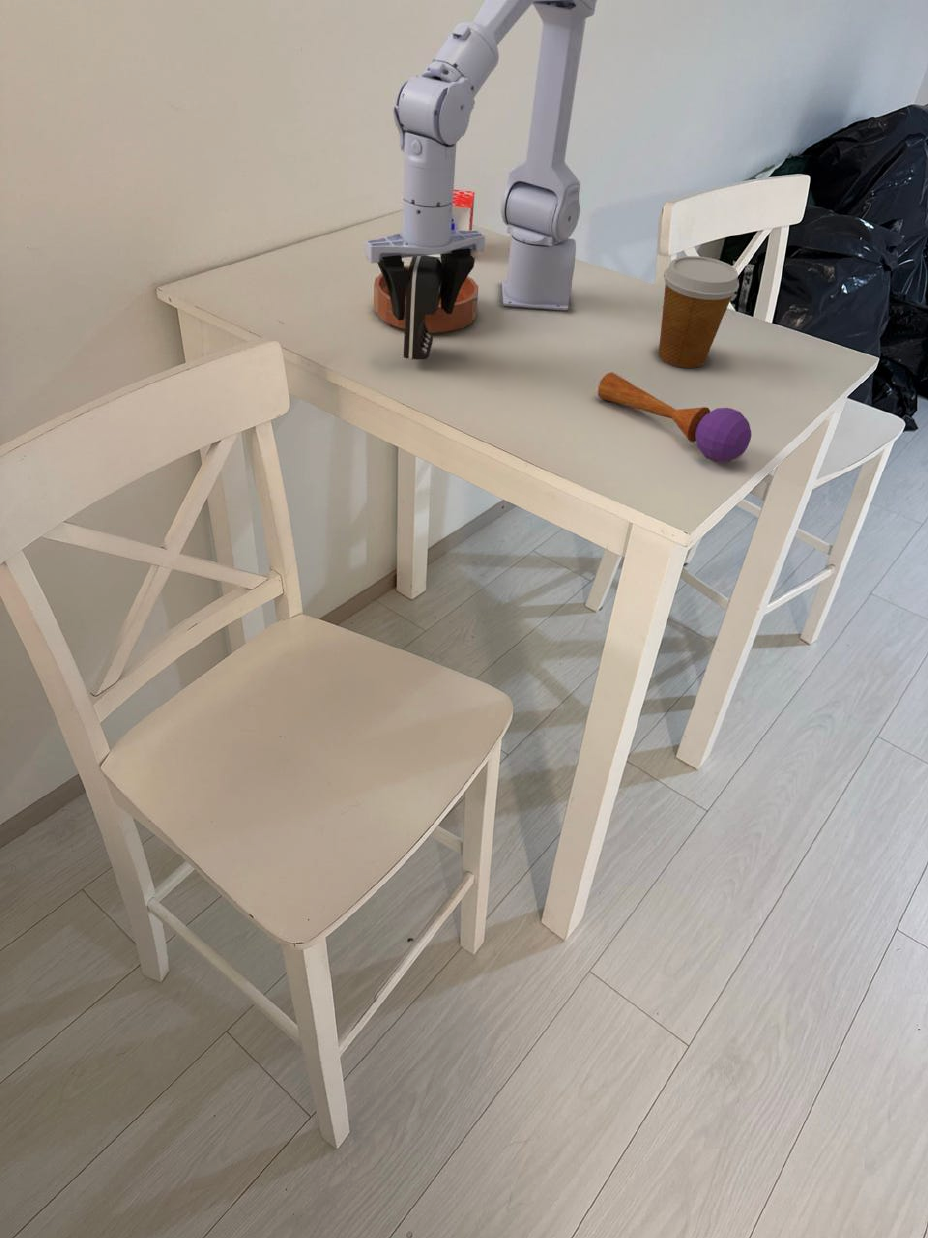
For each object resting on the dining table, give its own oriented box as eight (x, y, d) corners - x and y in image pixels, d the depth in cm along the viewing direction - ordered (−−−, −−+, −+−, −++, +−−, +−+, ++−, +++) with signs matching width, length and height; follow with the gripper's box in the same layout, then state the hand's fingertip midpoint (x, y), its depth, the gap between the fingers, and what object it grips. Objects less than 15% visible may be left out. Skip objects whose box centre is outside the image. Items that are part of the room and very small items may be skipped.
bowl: (475, 296, 133) (478, 269, 130) (475, 339, 122) (478, 310, 119) (378, 289, 132) (378, 261, 129) (370, 331, 121) (370, 302, 119)
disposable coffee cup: (673, 335, 127) (694, 249, 119) (730, 361, 123) (756, 272, 115) (632, 353, 122) (651, 264, 114) (690, 381, 118) (714, 290, 109)
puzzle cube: (470, 242, 148) (474, 191, 143) (466, 260, 143) (470, 207, 137) (422, 237, 149) (424, 186, 143) (416, 254, 143) (418, 202, 137)
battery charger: (433, 364, 113) (439, 273, 106) (402, 361, 113) (406, 269, 106) (439, 340, 118) (445, 251, 111) (410, 336, 118) (414, 248, 111)
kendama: (627, 359, 112) (768, 415, 100) (615, 406, 115) (751, 465, 104) (597, 363, 108) (740, 422, 97) (586, 411, 111) (723, 474, 100)
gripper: (470, 183, 109) (462, 294, 118) (355, 191, 103) (356, 306, 113) (496, 202, 104) (486, 316, 113) (378, 212, 99) (377, 331, 108)
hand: (423, 313), depth 113 cm, fingers closed on battery charger, 6 cm apart
